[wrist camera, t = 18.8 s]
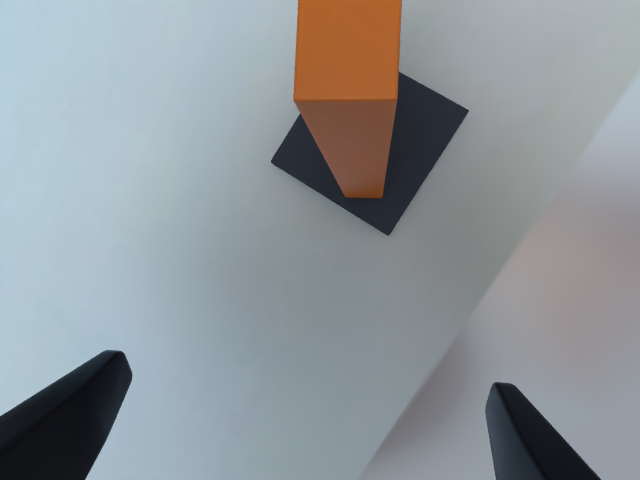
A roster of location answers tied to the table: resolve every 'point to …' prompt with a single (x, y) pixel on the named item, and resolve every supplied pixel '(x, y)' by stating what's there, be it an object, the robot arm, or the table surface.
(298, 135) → the coaster
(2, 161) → the table surface
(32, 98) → the table surface
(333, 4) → the block
